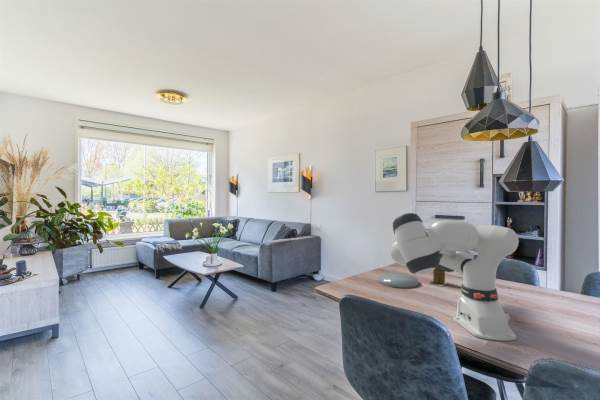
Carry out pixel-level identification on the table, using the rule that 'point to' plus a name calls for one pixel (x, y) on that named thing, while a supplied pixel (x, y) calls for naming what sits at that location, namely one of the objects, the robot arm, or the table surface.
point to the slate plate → (398, 280)
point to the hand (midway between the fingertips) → (444, 252)
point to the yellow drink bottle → (438, 277)
